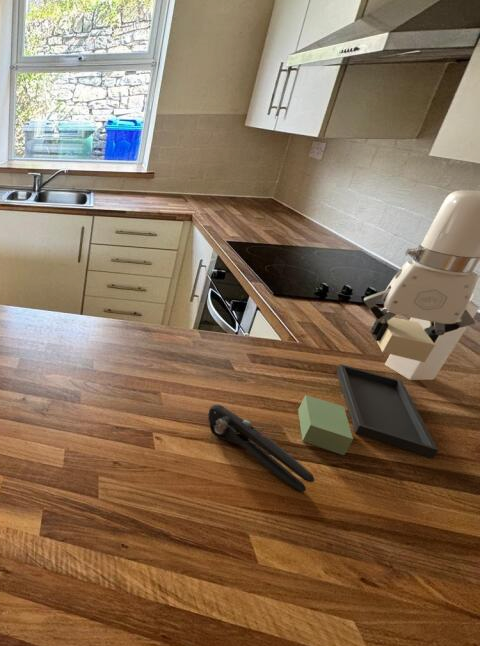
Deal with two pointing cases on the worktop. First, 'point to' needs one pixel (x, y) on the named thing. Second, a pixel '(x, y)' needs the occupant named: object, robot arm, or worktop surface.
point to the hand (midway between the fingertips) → (398, 342)
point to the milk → (437, 355)
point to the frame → (384, 411)
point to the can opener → (240, 433)
